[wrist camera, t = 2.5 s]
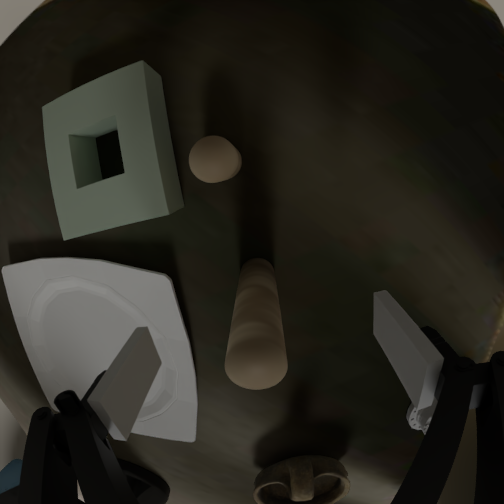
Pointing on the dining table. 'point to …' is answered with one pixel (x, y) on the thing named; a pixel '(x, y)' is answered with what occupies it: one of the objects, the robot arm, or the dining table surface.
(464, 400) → the robot arm
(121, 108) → the hole block
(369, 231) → the dining table surface
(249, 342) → the long dowel
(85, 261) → the plate
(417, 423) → the mechanical component
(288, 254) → the dining table surface
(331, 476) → the brown mug
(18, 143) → the dining table surface
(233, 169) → the short dowel
